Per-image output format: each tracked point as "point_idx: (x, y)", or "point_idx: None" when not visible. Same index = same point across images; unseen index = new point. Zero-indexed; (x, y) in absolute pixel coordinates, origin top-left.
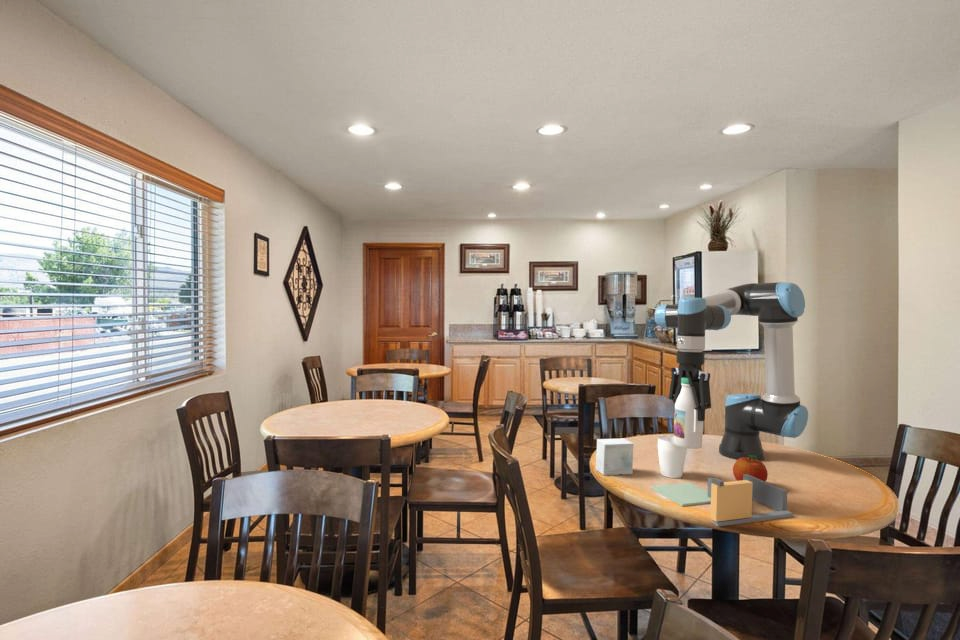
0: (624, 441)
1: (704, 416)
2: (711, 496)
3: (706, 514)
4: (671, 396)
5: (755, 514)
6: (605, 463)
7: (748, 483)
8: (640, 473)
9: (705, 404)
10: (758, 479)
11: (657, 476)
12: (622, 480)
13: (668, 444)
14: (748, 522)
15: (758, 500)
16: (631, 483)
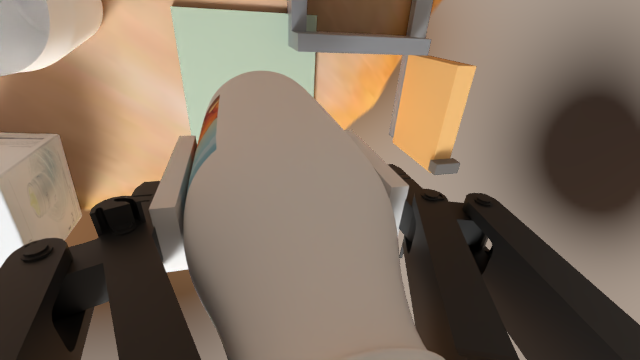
0: None
1: (408, 177)
2: (415, 160)
3: (357, 117)
4: (87, 323)
5: (415, 25)
6: (67, 233)
7: (471, 79)
8: (50, 105)
9: (484, 243)
10: None
11: (82, 65)
12: (126, 186)
13: (44, 60)
14: None
15: None
16: (152, 174)
